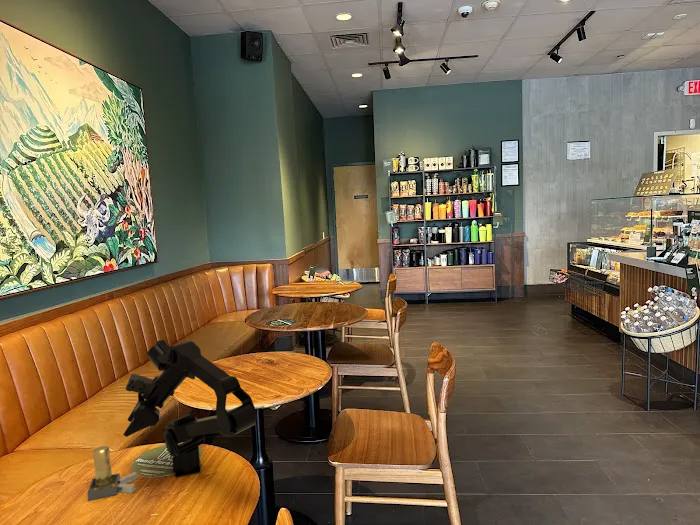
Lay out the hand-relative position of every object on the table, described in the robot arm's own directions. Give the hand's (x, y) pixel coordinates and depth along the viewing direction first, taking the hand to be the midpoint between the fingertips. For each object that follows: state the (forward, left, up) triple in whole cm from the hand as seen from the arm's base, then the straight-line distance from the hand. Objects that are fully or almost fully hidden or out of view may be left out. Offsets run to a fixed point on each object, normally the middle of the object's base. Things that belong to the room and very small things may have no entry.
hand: (126, 428), depth 120 cm
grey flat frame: (+4, +5, -14) cm, 15 cm away
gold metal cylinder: (+5, +5, -14) cm, 15 cm away
